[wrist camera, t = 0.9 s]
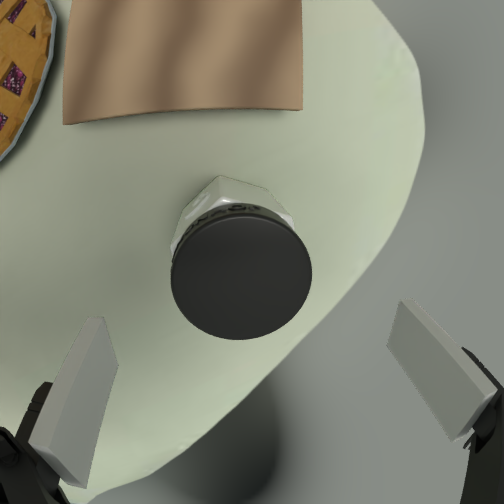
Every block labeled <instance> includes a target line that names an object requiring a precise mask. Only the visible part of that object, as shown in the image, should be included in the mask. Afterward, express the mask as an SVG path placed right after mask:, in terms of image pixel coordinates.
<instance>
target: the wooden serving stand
mask: <svg viewBox="0 0 504 504" xmlns="http://www.w3.org/2000/svg"><path fill="white" fill-rule="evenodd" d="M208 109H267V110H290V111H299V110H303V40H302V3H301V0H72V5H71V11H70V18H69V24H68V32H67V40H66V50H65V61H64V77H63V125H73V124H78V123H83V122H89V121H95V120H101V119H108V118H114V117H122V116H130V115H138V114H148V113H158V112H170V111H185V110H208Z"/></svg>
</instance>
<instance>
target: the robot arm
mask: <svg viewBox="0 0 504 504" xmlns="http://www.w3.org/2000/svg"><path fill="white" fill-rule="evenodd" d="M387 347H388V349H389V350H390V352H391V353H392V354H393V356H394V357H395V358H396V360H397V361H398V363H399V364H400V366H401V367H402V369H403V370H404V371H405V373H406V374H407V376H408V377H409V378H410V380H411V382H412V383H413V385H414V386H415V387H416V389H417V390H418V392H419V393H420V395H421V396H422V398H423V399H424V401H425V402H426V404H427V405H428V407H429V408H430V410H431V411H432V413H433V415H434V416H435V418H436V419H437V421H438V422H439V424H440V425H441V427H442V428H443V430H444V431H445V433H446V435H447V436H448V438H449V439H450V441H451V442H452V443H453V442H455V441H457V440H458V439H461V438H462V437H464V436H465V435H466V434H467V433H468V432H469V430H470V429H471V428H473V429H474V430H475V432H474V433H473V434H472V435H471V437H470V438H469V439H468V440H467V442H466V443H465V444H464V447H463V448H464V449H465V448H466V447H467V446H468V444H469V443H470V442H471V446H470V447H469V450H470V454H469V461H468V466H467V472H466V478H465V483H464V488H463V493H462V497H461V501H460V504H504V388H503V387H502V386H501V385H500V383H499V382H498V381H497V380H496V379H495V378H494V376H493V375H492V374H491V373H490V372H489V371H488V370H487V369H486V368H484V365H483V364H482V363H481V362H479V360H478V359H477V358H476V357H475V355H474V354H473V353H471V352H470V351H468V350H467V349H465V348H464V347H462V348H460V346H459V345H458V344H457V343H456V342H455V341H454V340H453V339H452V338H451V337H450V336H449V335H448V334H447V333H446V332H445V331H444V330H443V329H442V328H441V327H440V326H439V325H438V323H437V322H436V321H435V320H434V319H433V318H432V317H431V316H430V315H429V314H428V313H427V312H426V311H425V310H424V309H423V308H422V307H420V305H419V304H418V303H417V302H416V301H415V300H414V299H413V298H410V299H403V300H400V301H399V304H398V308H397V312H396V316H395V320H394V323H393V326H392V330H391V333H390V336H389V339H388V343H387ZM117 369H118V363H117V360H116V357H115V353H114V350H113V347H112V344H111V341H110V338H109V334H108V331H107V327H106V324H105V320H104V317H88V318H87V319H86V321H85V323H84V325H83V327H82V328H81V330H80V332H79V334H78V336H77V338H76V340H75V341H74V343H73V345H72V347H71V349H70V351H69V353H68V355H67V357H66V359H65V361H64V363H63V365H62V367H61V369H60V371H59V373H58V375H57V377H56V379H55V381H54V383H50V382H44V383H43V384H42V385H41V386H40V387H39V388H38V389H37V390H36V392H35V394H34V396H33V398H32V400H31V401H32V402H31V403H30V404H29V406H28V411H26V413H25V415H24V417H23V420H22V422H21V424H20V426H19V429H18V431H17V433H16V436H15V438H14V436H13V435H12V434H11V433H10V431H9V430H7V429H6V428H4V427H0V504H70V503H69V501H68V499H67V497H66V496H65V494H64V492H63V490H62V488H61V487H60V486H59V485H58V484H59V480H60V478H61V479H62V480H63V481H64V482H65V483H67V484H68V485H72V486H76V487H80V488H85V489H86V488H87V483H88V478H89V474H90V469H91V464H92V460H93V456H94V451H95V447H96V443H97V439H98V435H99V431H100V427H101V423H102V420H103V416H104V412H105V409H106V405H107V402H108V398H109V395H110V391H111V388H112V385H113V381H114V378H115V375H116V372H117Z"/></svg>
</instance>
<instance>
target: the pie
mask: <svg viewBox="0 0 504 504" xmlns="http://www.w3.org/2000/svg"><path fill="white" fill-rule="evenodd" d="M56 19H57V15H56V13H55V11H54V9H53V7H52V4H51V2H50V0H0V161H1V160H2V159H3V158H4V157H5V156H6V155H7V154H8V152H9V151H10V150H11V149H12V148H13V147H14V146H15V144H16V142H17V140H18V138H19V136H20V134H21V133H22V131H23V129H24V127H25V125H26V123H27V121H28V119H29V118H30V116H31V114H32V112H33V110H34V109H35V107H36V105H37V103H38V102H39V100H40V97H41V94H42V91H43V88H44V84H45V81H46V78H47V75H48V72H49V70H50V67H51V64H52V61H53V49H54V40H55V32H56V31H55V27H56Z"/></svg>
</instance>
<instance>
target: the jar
mask: <svg viewBox="0 0 504 504" xmlns="http://www.w3.org/2000/svg"><path fill="white" fill-rule="evenodd" d="M170 250H171V253H172V256H173V259H172V263H173V264H172V267H171V289H172V293H173V297H174V300H175V302H176V304H177V306H178V308H179V309H180V311H181V313H182V314H183V315H184V316H185V317H186V319H187V320H188V321H189V322H191V323H192V324H193V325H194V326H196V327H197V328H198V329H200V330H202V331H204V332H206V333H208V334H210V335H213V336H216V337H219V338H224V339H230V340H247V339H253V338H258V337H261V336H264V335H267V334H269V333H272V332H274V331H276V330H277V329H279V328H281V327H282V326H284V325H285V324H286V323H288V322H289V321H290V320H291V319H292V318H293V317H294V316H295V315H296V314H297V312H298V311H299V310H300V309H301V307H302V306H303V304H304V302H305V300H306V298H307V296H308V293H309V290H310V286H311V281H312V266H311V261H310V257H309V254H308V251H307V249H306V247H305V245H304V243H303V242H302V240H301V239H300V238H299V236H298V235H297V234H296V233H295V229H294V223H293V218H292V216H291V215H290V214H289V213H288V212H287V211H286V210H285V209H284V208H283V207H282V206H281V204H280V203H279V202H278V201H277V200H276V199H275V198H274V197H273V196H272V195H271V194H270V193H269V191H268V190H267V189H264V188H260V187H257V186H254V185H251V184H247V183H244V182H240V181H237V180H234V179H230V178H227V177H223V176H217V177H216V178H215V179H214V180H213V181H212V182H211V183H210V184H209V185H208V186H207V187H206V188H205V189H204V190H203V191H202V192H201V193H199V194H198V195H197V196H196V197H195V198H194V199H193V200H192V201H191V202H190V203H189V204H188V205H187V206H186V207H185V208H184V209H183V211H182V214H181V216H180V219H179V222H178V225H177V228H176V230H175V233H174V236H173V239H172V242H171V245H170Z"/></svg>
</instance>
